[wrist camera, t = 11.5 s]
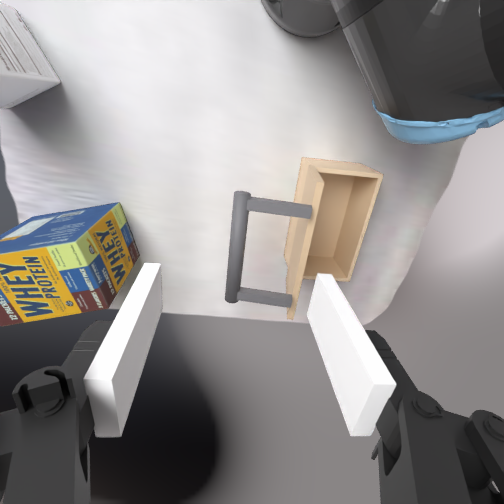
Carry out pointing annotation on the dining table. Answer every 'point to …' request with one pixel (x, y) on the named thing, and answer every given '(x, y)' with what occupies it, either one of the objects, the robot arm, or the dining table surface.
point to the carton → (336, 216)
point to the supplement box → (21, 62)
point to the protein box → (64, 263)
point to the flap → (299, 249)
